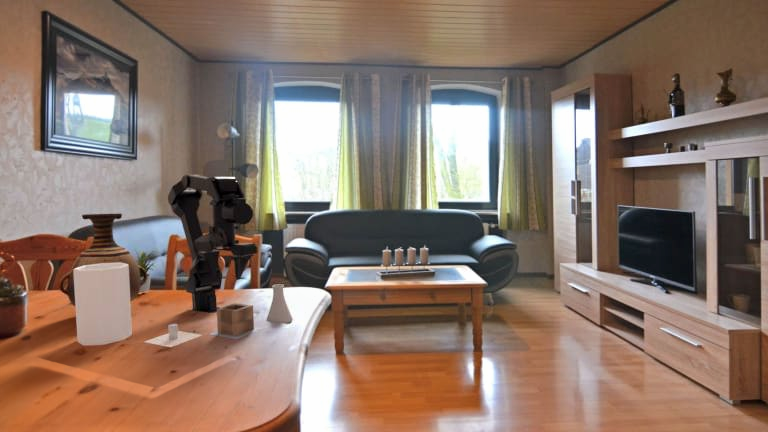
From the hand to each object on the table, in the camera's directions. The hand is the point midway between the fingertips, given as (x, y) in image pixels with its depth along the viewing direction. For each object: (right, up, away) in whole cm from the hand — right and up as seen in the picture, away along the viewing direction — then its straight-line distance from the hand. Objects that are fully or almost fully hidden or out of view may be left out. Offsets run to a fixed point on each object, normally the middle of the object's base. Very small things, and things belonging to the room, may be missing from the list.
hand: (225, 278), depth 125 cm
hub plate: (+8, -12, -14) cm, 20 cm away
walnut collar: (+8, -11, -14) cm, 19 cm away
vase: (-37, -12, +8) cm, 40 cm away
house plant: (-42, -10, +36) cm, 56 cm away
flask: (+15, -12, -2) cm, 20 cm away
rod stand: (-6, -13, -19) cm, 23 cm away
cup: (-23, -13, -17) cm, 31 cm away
